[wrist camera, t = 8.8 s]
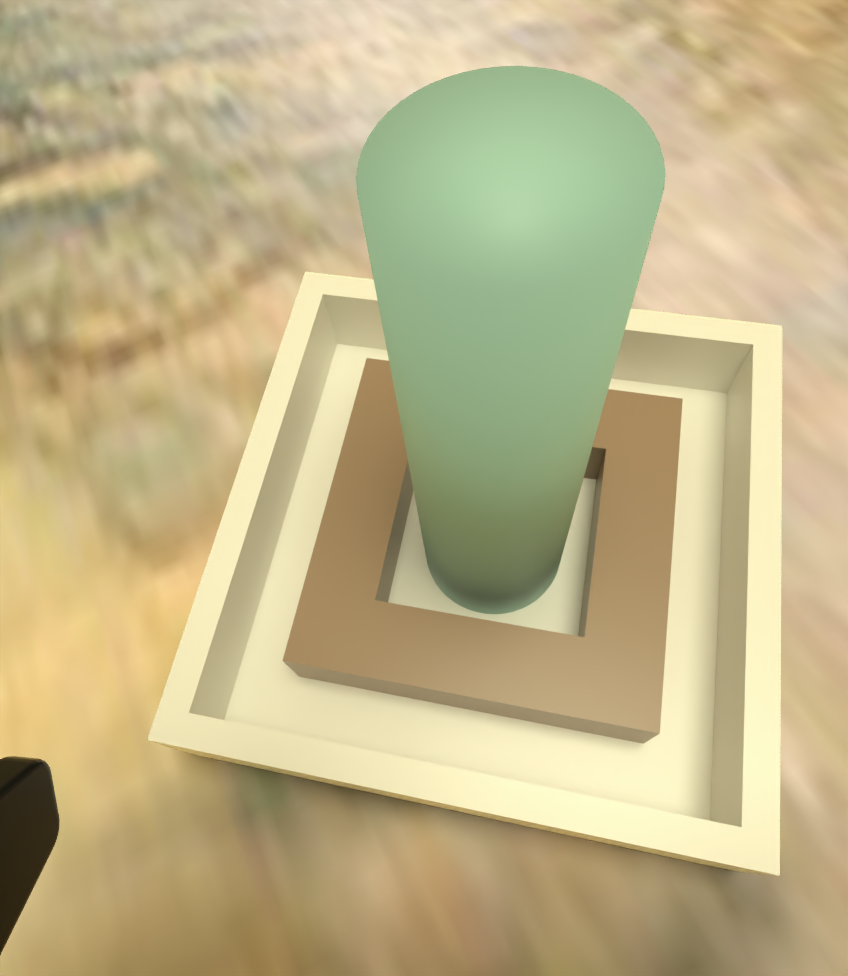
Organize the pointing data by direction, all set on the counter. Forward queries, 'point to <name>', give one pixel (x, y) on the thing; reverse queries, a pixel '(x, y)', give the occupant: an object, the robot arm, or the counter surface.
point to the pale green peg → (505, 305)
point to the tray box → (516, 635)
